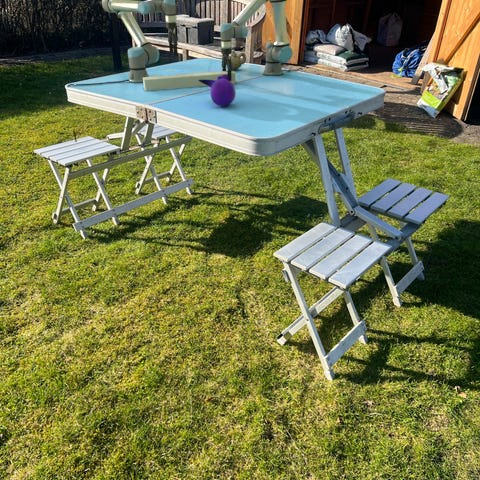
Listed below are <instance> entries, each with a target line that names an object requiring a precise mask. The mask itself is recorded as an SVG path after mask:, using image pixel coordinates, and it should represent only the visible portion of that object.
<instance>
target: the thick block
mask: <svg viewBox="0 0 480 480" xmlns="http://www.w3.org/2000/svg"><path fill="white" fill-rule="evenodd" d="M231 74H232V81H230V82H231V83H232V84H233V85H235V84H237V82H236V81H237V79H236V72H235V71H234V70H232V71H231ZM222 75H227V76H228V72H227V70H226V71H210V72H194V73H184V74H169V75H156V76H155V75H154V76H149V77H143V89H144V91H145V92H149V91H150V92H152V91H164V90H175V89H188V88H199V87H208V86H207V85H205V84H203V83H201V82H200V81H199V80H217V79H218V77H219V76H222Z"/></svg>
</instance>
